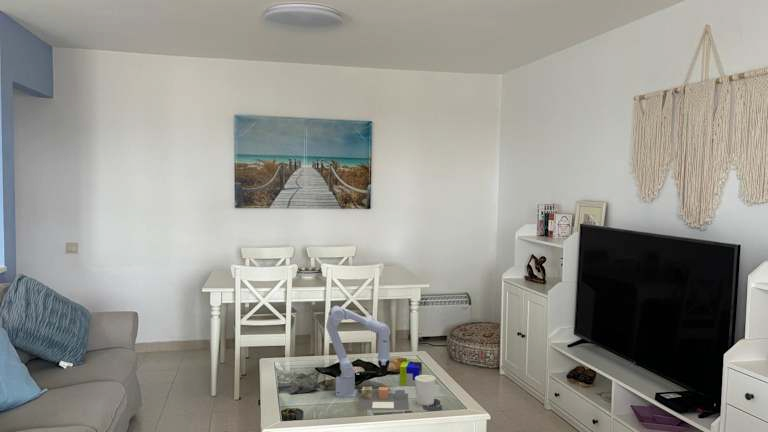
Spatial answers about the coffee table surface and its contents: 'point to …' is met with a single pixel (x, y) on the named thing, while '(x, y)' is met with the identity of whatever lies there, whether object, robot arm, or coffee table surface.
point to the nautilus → (396, 364)
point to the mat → (383, 403)
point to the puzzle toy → (410, 372)
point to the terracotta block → (383, 392)
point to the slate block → (399, 392)
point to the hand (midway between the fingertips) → (383, 375)
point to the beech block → (367, 393)
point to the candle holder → (425, 389)
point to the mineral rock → (303, 383)
